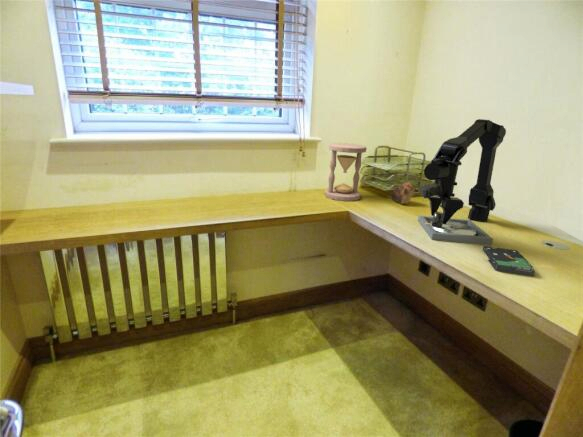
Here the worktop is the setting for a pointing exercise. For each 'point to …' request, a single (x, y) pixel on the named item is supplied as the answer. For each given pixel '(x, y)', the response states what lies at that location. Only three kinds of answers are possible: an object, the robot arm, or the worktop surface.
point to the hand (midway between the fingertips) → (438, 219)
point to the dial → (450, 226)
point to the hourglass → (343, 190)
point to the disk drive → (508, 261)
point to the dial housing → (478, 239)
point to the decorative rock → (403, 193)
